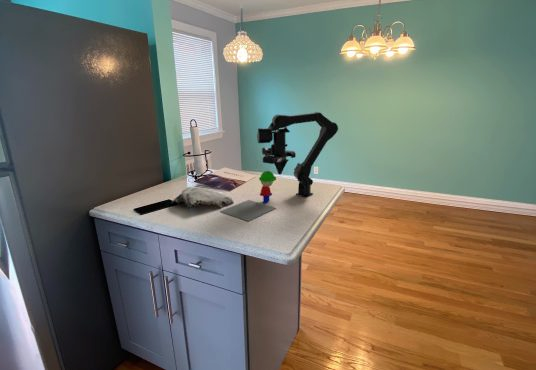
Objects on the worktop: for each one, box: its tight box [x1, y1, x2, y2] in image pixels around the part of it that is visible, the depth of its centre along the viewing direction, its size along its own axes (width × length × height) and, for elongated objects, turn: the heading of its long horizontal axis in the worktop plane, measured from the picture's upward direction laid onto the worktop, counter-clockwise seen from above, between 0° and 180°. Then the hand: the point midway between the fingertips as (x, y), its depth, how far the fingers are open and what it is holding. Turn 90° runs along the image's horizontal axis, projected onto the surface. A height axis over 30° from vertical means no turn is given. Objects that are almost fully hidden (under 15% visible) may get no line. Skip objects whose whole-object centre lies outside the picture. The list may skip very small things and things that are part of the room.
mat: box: [219, 199, 277, 223], centre depth 133 cm, size 18×17×1 cm
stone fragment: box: [170, 186, 235, 208], centre depth 143 cm, size 25×29×6 cm
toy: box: [258, 170, 277, 204], centre depth 140 cm, size 8×8×15 cm
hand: (279, 174), depth 146 cm, fingers closed
